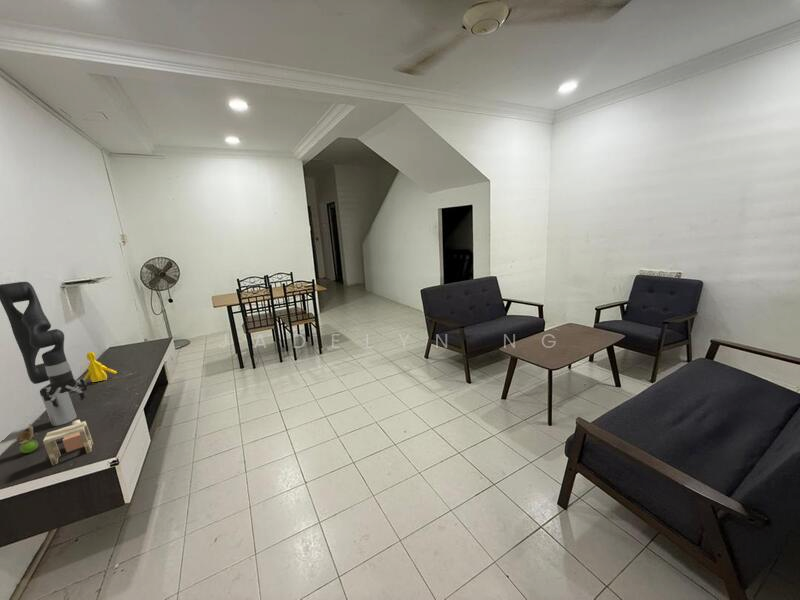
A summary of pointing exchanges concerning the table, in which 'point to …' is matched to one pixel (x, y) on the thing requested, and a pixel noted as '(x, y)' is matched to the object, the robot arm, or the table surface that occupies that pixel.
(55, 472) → the table surface
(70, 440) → the cube base joystick
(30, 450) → the snail figurine
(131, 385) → the table surface
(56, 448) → the beige u-shaped block
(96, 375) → the figure statuette
